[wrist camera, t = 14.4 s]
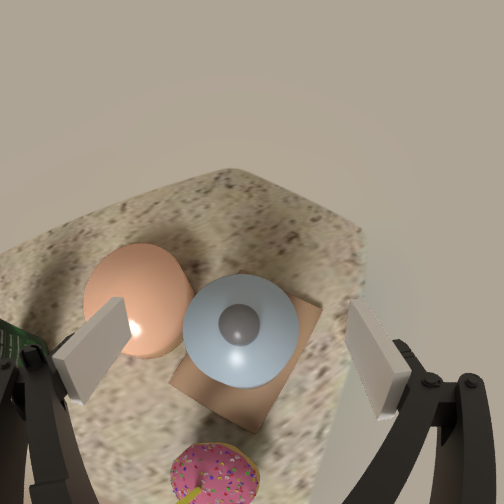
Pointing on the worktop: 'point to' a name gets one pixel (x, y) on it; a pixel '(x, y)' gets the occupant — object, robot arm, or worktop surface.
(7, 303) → the worktop surface
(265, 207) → the worktop surface
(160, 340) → the peach round dome
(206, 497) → the cupcake
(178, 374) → the mat
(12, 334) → the coffee jar
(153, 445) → the worktop surface
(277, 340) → the blue-grey knobbed jar
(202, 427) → the worktop surface
